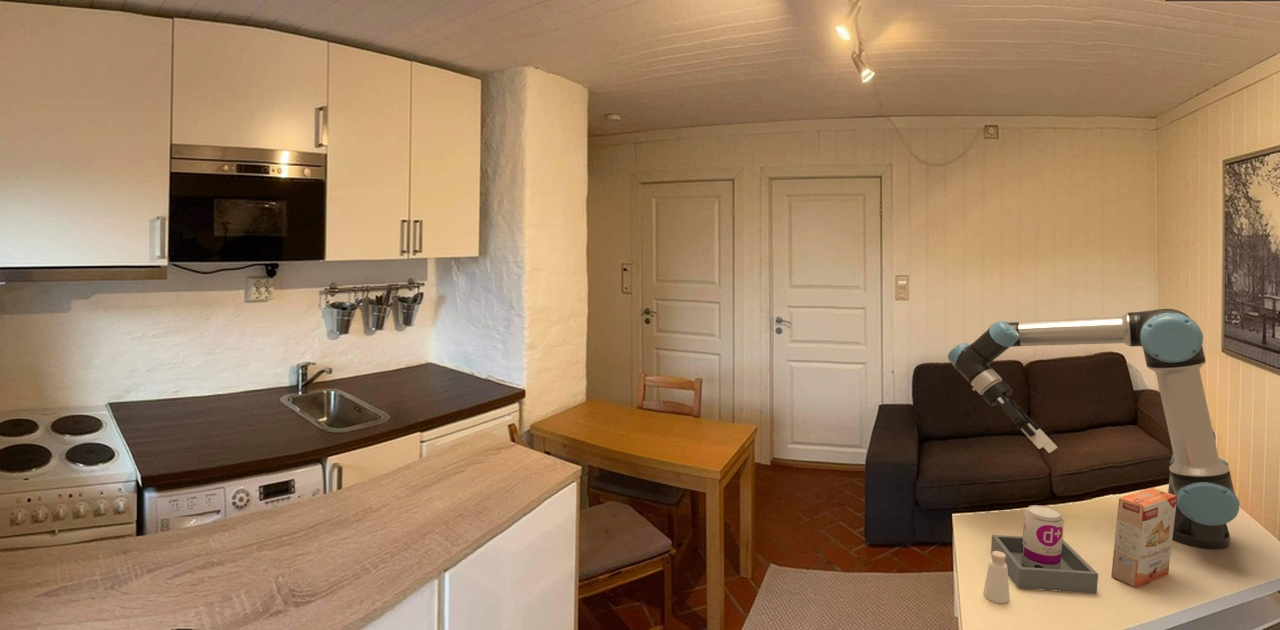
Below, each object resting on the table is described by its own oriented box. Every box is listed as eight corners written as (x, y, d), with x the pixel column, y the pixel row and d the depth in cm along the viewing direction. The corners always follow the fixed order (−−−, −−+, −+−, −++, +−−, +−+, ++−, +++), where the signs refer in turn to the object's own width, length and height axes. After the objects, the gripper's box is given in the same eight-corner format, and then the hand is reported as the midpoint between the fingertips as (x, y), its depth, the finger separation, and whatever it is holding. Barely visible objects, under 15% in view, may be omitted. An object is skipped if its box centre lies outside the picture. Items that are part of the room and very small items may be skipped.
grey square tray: (1060, 556, 162) (1062, 538, 162) (1096, 593, 146) (1098, 574, 145) (990, 552, 165) (991, 534, 164) (1018, 588, 149) (1019, 568, 148)
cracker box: (1137, 589, 147) (1145, 506, 144) (1109, 577, 152) (1116, 496, 150) (1171, 575, 152) (1178, 494, 150) (1143, 563, 158) (1150, 485, 155)
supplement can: (1066, 578, 151) (1070, 520, 149) (1028, 575, 152) (1032, 517, 150) (1051, 560, 158) (1055, 505, 156) (1016, 558, 160) (1019, 503, 158)
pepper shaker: (985, 587, 149) (988, 545, 148) (1011, 595, 146) (1014, 552, 144) (981, 598, 145) (983, 554, 143) (1007, 606, 141) (1010, 562, 140)
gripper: (992, 401, 192) (1045, 459, 179) (969, 389, 174) (1026, 452, 161) (1013, 386, 189) (1068, 444, 176) (991, 373, 171) (1052, 435, 159)
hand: (1048, 448), depth 169 cm, fingers open, 13 cm apart
